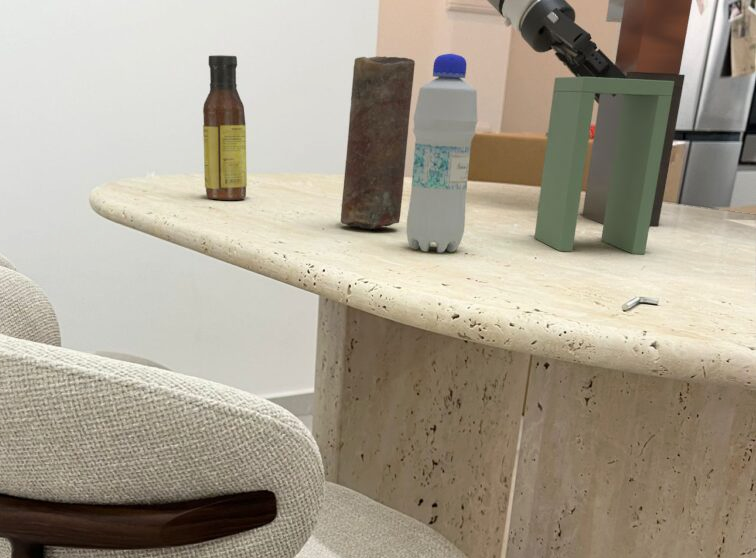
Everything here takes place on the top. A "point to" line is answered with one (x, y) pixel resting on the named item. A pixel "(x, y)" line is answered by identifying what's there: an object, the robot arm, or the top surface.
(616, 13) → the brown box
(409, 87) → the rusty brown cylinder
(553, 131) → the green arch
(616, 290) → the top surface
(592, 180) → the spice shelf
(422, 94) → the bottle
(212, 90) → the sauce bottle
